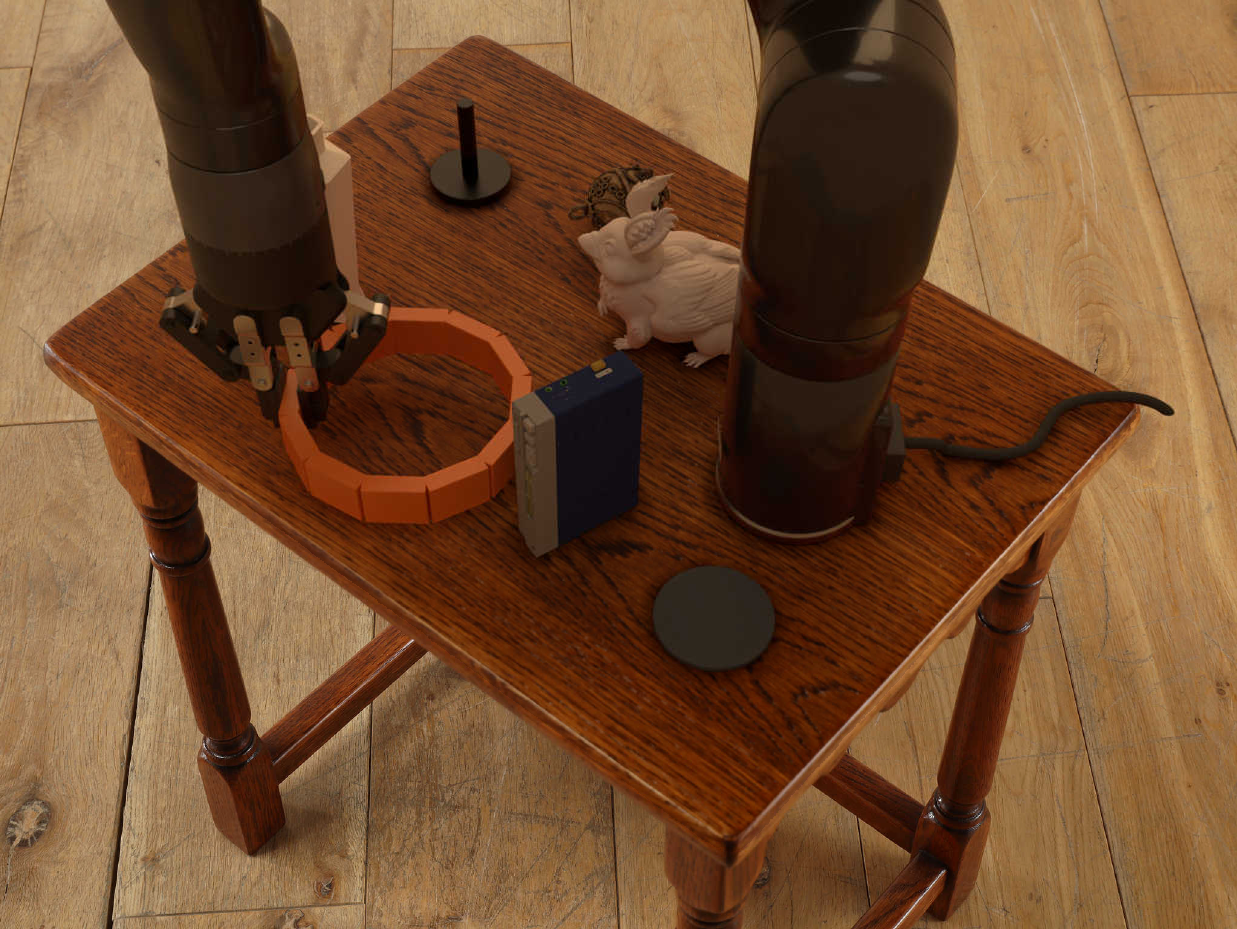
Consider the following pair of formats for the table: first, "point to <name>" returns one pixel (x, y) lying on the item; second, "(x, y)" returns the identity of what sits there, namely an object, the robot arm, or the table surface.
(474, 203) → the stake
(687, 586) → the coaster
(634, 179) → the pendant
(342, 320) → the perfume bottle
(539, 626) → the table surface
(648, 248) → the figurine
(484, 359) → the hoop
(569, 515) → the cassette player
